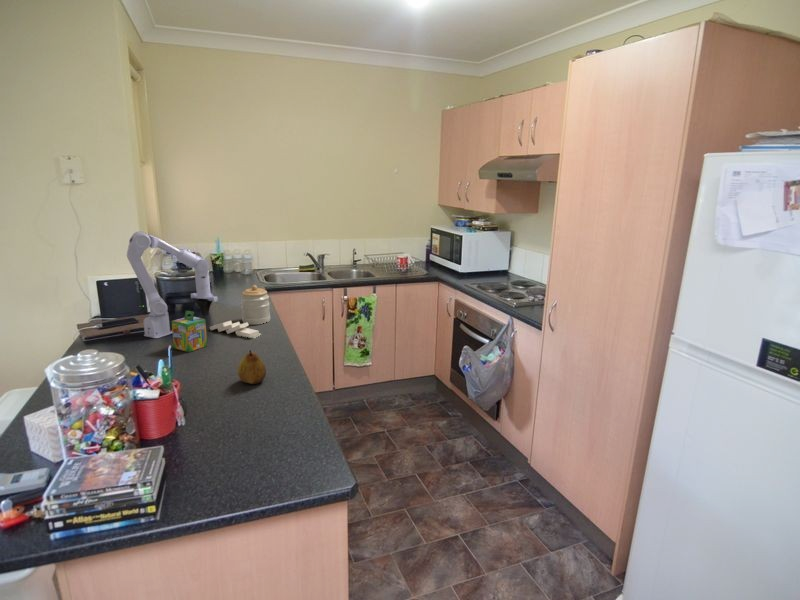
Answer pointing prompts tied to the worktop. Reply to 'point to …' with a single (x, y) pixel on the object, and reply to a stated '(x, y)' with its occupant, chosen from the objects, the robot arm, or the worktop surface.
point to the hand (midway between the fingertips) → (205, 315)
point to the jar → (255, 306)
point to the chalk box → (189, 333)
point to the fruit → (251, 369)
